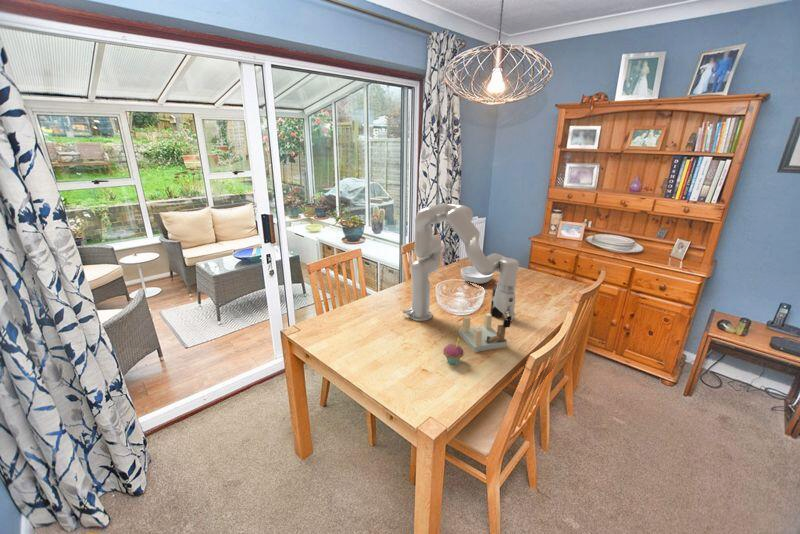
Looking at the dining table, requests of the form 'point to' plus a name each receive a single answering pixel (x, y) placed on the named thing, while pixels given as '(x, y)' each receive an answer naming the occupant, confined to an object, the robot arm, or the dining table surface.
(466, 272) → the serving bowl
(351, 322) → the dining table surface
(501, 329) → the folding leg
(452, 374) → the dining table surface
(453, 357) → the cupcake
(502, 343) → the stool seat
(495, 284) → the bottle
